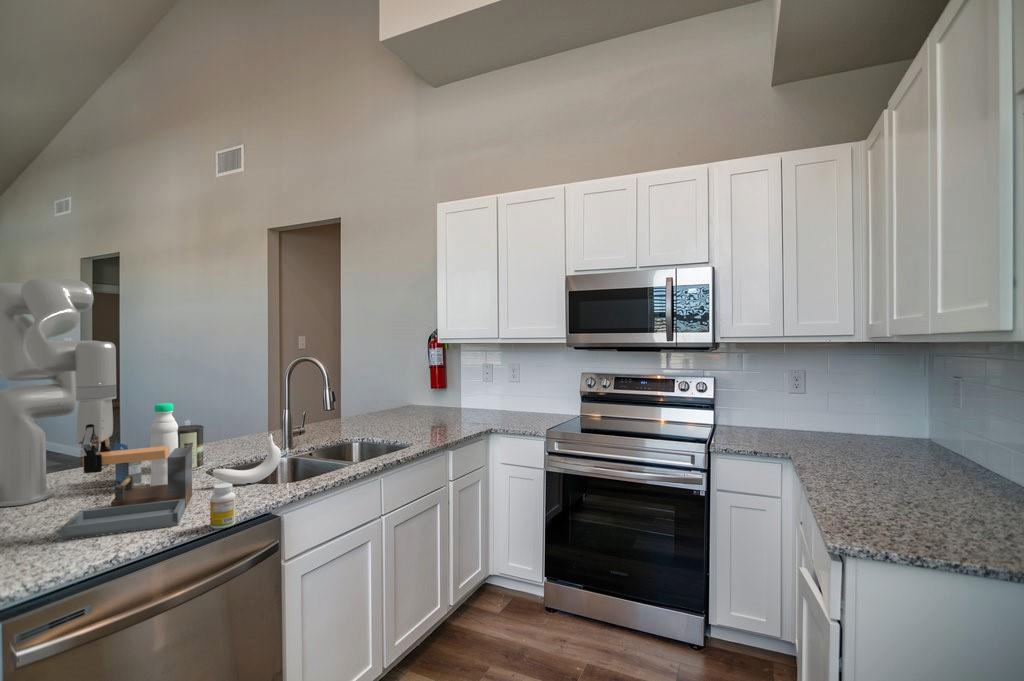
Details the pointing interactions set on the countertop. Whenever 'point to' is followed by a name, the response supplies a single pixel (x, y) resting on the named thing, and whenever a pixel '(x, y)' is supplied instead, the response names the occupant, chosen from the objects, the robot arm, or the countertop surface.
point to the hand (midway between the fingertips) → (97, 468)
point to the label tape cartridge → (127, 467)
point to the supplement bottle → (222, 506)
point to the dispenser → (174, 490)
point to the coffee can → (192, 442)
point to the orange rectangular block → (134, 455)
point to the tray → (124, 519)
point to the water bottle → (163, 441)
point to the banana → (255, 473)
